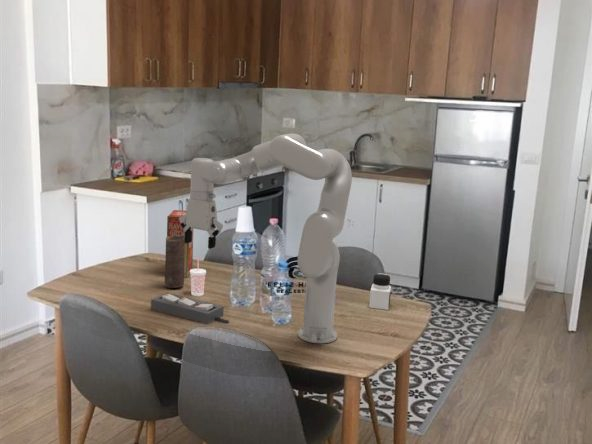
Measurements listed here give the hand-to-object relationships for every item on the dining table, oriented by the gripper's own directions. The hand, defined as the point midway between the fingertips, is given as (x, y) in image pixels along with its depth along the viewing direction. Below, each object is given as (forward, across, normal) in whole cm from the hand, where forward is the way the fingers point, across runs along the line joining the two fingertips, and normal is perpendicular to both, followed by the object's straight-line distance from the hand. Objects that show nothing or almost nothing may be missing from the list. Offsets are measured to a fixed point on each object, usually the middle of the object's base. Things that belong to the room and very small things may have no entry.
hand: (199, 245), depth 218 cm
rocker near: (+20, -4, +2) cm, 21 cm away
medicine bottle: (+23, -50, -45) cm, 71 cm away
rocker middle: (+20, +3, +2) cm, 21 cm away
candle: (+24, +23, -16) cm, 37 cm away
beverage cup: (+24, +11, -16) cm, 31 cm away
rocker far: (+21, +10, +2) cm, 23 cm away
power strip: (+24, 0, +2) cm, 24 cm away
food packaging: (+25, +33, -33) cm, 53 cm away
